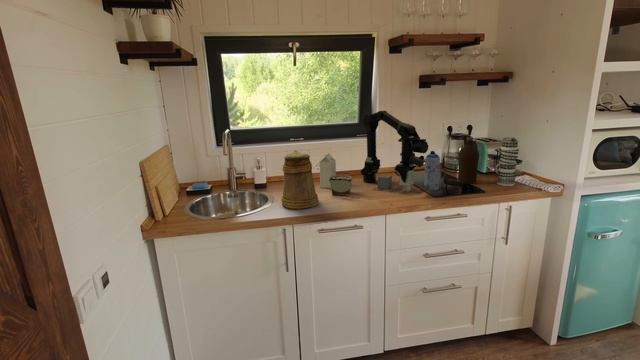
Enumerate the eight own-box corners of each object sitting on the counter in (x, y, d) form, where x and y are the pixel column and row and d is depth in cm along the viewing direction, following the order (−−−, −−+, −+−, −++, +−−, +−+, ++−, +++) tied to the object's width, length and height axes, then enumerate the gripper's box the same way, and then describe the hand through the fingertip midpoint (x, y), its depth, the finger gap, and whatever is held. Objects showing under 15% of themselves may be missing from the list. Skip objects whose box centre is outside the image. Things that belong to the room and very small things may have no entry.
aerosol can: (426, 185, 193) (427, 149, 188) (440, 186, 188) (442, 150, 183) (421, 188, 187) (423, 152, 182) (436, 190, 182) (438, 153, 177)
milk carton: (320, 187, 197) (319, 154, 192) (325, 184, 203) (323, 152, 198) (332, 188, 194) (331, 155, 189) (336, 185, 200) (335, 152, 196)
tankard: (283, 211, 160) (279, 159, 154) (279, 197, 183) (275, 150, 176) (322, 207, 164) (319, 155, 157) (313, 193, 186) (310, 147, 180)
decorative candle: (510, 187, 182) (515, 139, 176) (493, 184, 189) (497, 138, 183) (518, 183, 188) (523, 137, 181) (500, 180, 195) (505, 136, 188)
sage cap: (399, 184, 177) (399, 172, 175) (403, 182, 182) (403, 169, 180) (410, 186, 174) (410, 173, 172) (413, 183, 179) (414, 170, 177)
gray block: (377, 188, 185) (377, 176, 183) (382, 186, 189) (382, 174, 187) (387, 190, 182) (387, 177, 180) (391, 187, 186) (392, 175, 184)
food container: (355, 193, 183) (354, 175, 181) (352, 197, 178) (351, 178, 175) (332, 192, 187) (332, 174, 185) (329, 195, 182) (328, 177, 179)
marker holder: (371, 192, 184) (371, 179, 182) (380, 186, 193) (380, 174, 192) (411, 198, 172) (412, 184, 170) (419, 191, 181) (420, 178, 179)
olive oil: (464, 185, 190) (467, 139, 183) (452, 180, 200) (455, 137, 193) (481, 183, 192) (484, 138, 186) (469, 178, 202) (472, 135, 196)
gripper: (416, 155, 162) (415, 187, 166) (429, 149, 177) (428, 178, 181) (394, 153, 168) (393, 184, 172) (407, 147, 183) (407, 176, 187)
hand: (406, 181), depth 178 cm, fingers closed on sage cap, 6 cm apart
